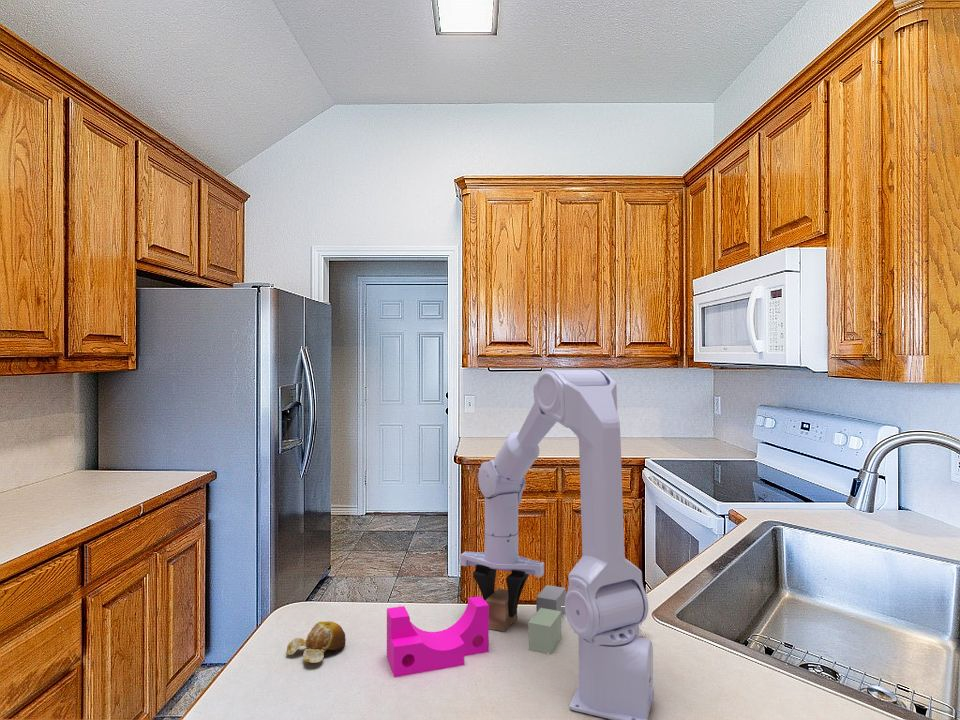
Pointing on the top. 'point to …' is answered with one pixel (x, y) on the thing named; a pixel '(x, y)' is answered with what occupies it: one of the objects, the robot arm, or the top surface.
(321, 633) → the fruit
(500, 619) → the walnut brick
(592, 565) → the robot arm
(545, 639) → the sage brick
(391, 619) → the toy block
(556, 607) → the slate brick
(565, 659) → the top surface
